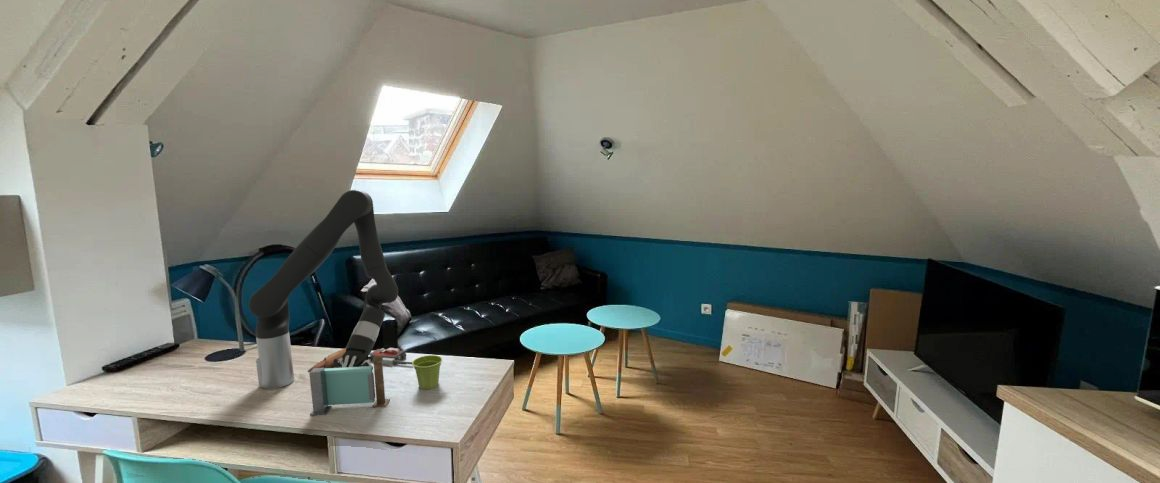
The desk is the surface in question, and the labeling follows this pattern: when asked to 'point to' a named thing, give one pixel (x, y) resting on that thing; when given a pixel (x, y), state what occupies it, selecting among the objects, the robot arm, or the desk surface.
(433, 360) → the plant pot
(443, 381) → the desk surface
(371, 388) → the gate
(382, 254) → the robot arm
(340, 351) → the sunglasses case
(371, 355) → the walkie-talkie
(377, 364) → the hinge post
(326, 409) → the latch post
